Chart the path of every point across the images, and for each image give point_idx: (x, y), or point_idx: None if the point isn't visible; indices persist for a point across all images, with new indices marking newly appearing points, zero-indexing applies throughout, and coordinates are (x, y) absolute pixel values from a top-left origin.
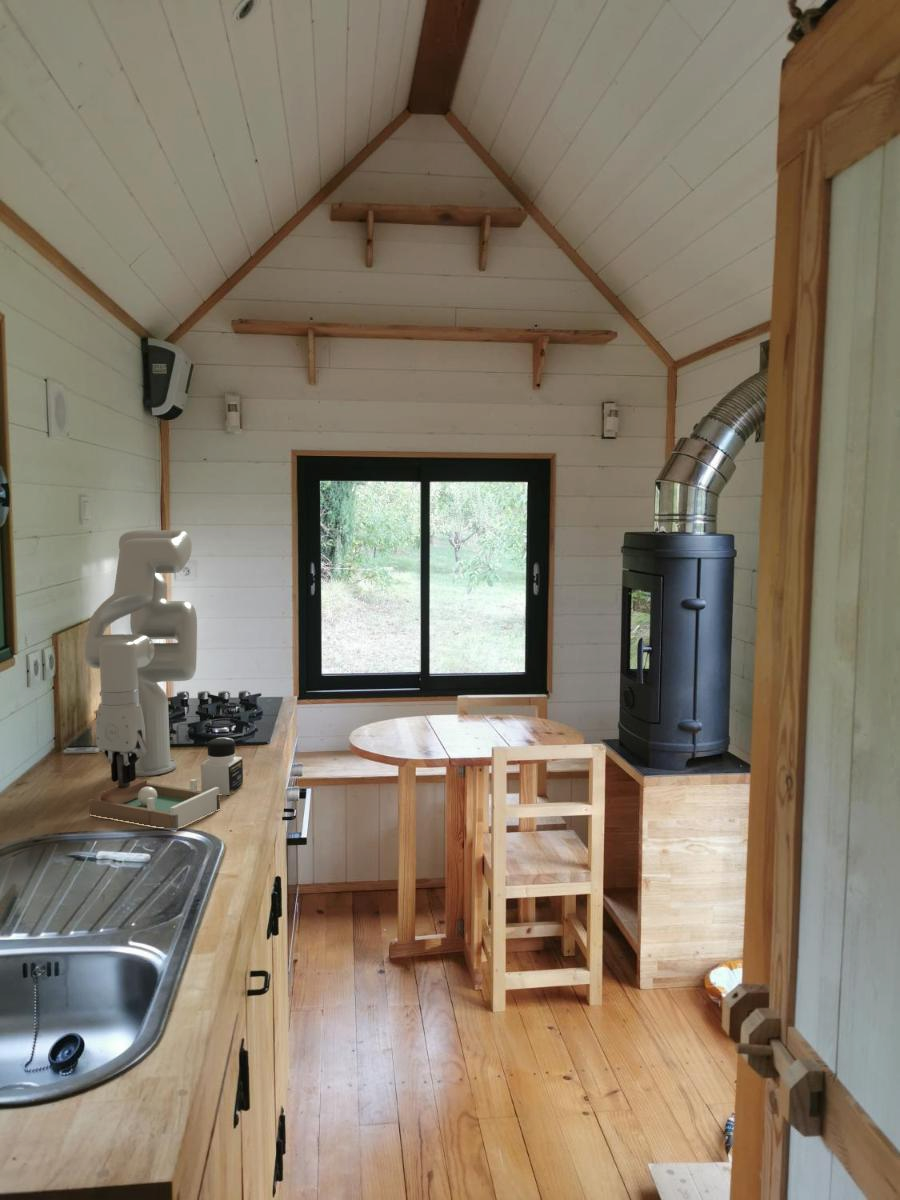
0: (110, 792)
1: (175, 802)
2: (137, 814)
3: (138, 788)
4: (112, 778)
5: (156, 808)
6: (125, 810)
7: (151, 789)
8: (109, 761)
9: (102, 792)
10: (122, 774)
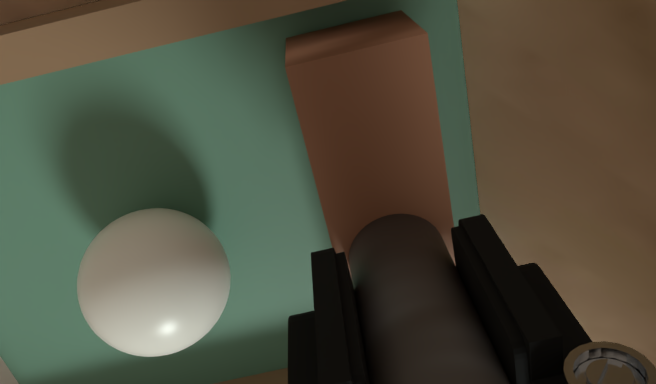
0: (345, 96)
1: (86, 357)
2: None
3: None
4: (477, 229)
5: (58, 240)
6: (31, 25)
7: (95, 328)
8: (628, 361)
9: (411, 47)
10: (350, 301)
